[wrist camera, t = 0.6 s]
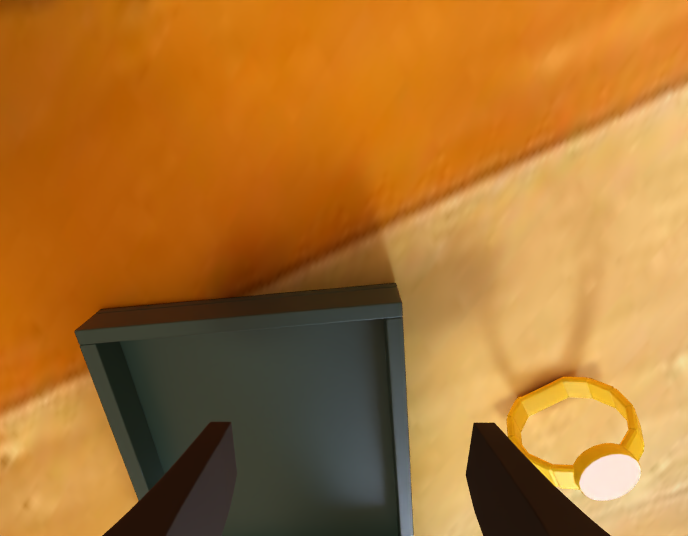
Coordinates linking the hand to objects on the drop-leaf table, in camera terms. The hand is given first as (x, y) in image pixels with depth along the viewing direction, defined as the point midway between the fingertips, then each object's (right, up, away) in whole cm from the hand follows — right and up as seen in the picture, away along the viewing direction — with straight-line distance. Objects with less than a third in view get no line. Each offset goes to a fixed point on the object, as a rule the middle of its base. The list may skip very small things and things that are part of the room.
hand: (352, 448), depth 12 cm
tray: (-4, -5, +13) cm, 14 cm away
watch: (+11, -2, +12) cm, 16 cm away
